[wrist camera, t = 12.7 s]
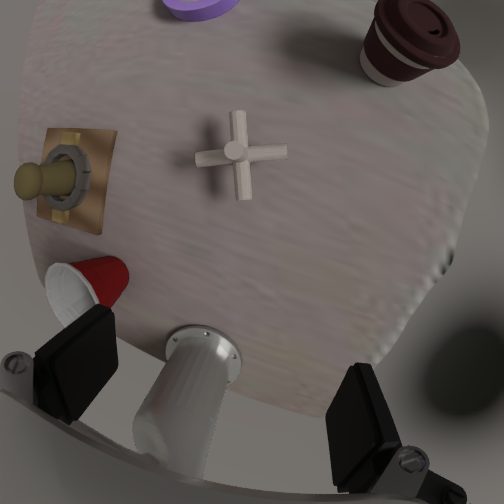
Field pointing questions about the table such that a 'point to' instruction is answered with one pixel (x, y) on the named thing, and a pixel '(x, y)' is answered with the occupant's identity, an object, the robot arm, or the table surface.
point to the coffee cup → (407, 41)
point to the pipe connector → (240, 155)
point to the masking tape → (199, 8)
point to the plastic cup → (84, 286)
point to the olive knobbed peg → (45, 179)
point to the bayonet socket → (79, 176)
